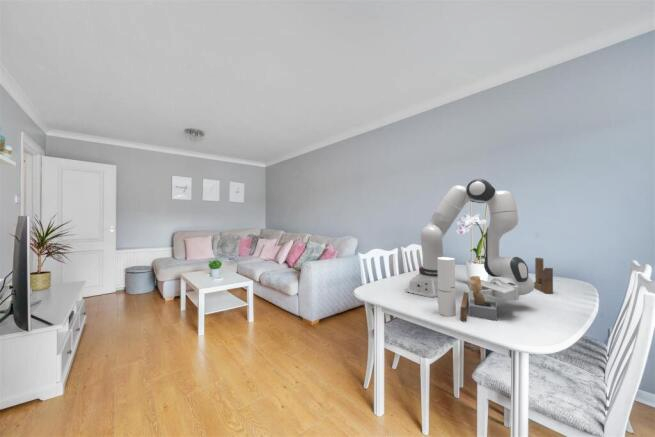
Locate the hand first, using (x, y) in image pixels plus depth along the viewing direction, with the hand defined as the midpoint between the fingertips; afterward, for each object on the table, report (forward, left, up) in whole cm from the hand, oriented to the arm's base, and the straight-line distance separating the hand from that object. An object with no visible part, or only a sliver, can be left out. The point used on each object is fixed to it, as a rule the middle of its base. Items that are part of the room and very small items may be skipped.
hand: (475, 290), depth 111 cm
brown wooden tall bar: (+2, +1, -8) cm, 8 cm away
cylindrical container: (-11, -5, -11) cm, 16 cm away
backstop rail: (-4, 0, -10) cm, 11 cm away
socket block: (+3, +1, -11) cm, 11 cm away
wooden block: (+32, +54, -11) cm, 63 cm away
